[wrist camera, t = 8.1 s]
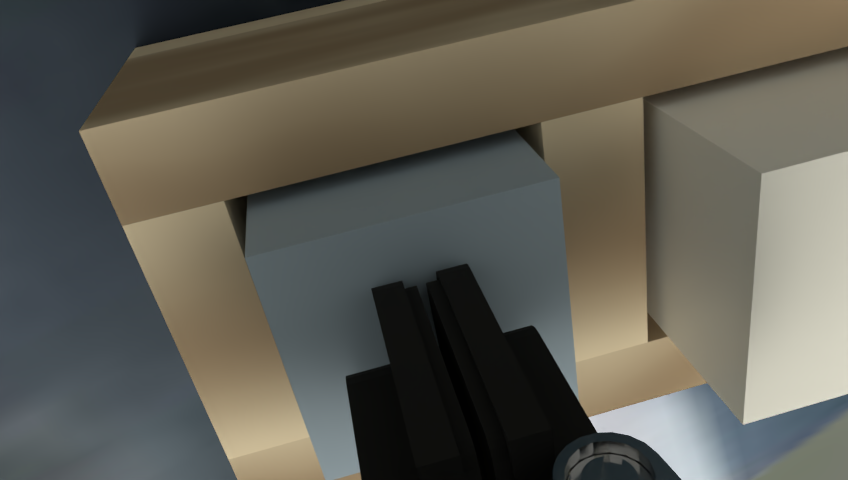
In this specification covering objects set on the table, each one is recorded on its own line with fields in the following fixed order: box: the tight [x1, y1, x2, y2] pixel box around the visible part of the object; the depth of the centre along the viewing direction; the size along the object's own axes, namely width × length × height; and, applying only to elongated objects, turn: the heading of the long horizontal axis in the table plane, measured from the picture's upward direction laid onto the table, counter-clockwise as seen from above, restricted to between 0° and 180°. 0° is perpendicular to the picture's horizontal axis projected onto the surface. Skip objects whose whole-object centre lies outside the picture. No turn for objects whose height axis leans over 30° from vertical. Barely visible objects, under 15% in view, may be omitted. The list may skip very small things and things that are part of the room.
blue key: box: [245, 129, 579, 480], centre depth 14 cm, size 5×5×4 cm
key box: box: [79, 0, 848, 480], centre depth 16 cm, size 9×24×6 cm, turn 100°
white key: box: [643, 46, 848, 425], centre depth 13 cm, size 5×5×4 cm
